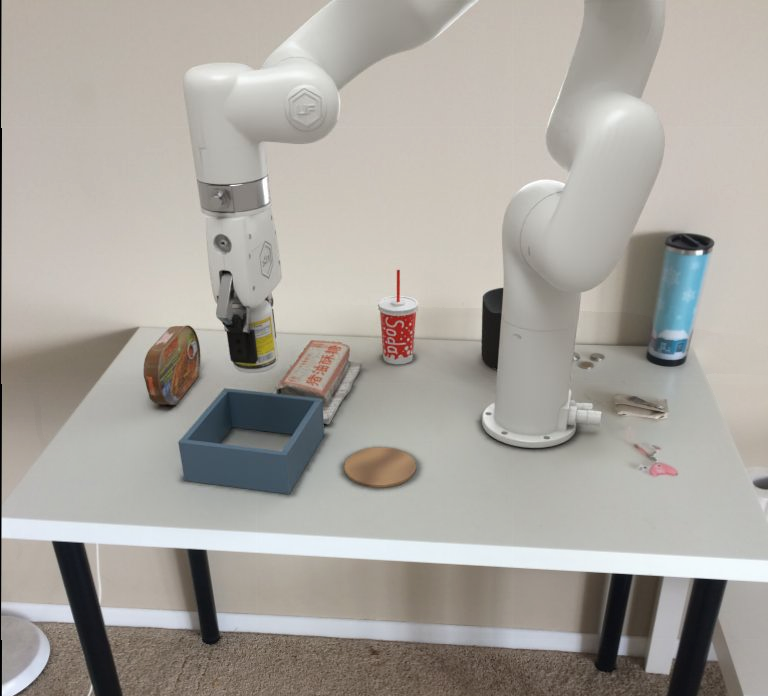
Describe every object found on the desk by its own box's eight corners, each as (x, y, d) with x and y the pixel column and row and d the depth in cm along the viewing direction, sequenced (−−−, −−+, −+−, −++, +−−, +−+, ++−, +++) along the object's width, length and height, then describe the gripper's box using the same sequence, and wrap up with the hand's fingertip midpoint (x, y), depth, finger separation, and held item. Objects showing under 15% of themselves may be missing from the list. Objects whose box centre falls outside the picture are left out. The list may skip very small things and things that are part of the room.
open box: (324, 435, 116) (322, 398, 113) (289, 494, 104) (286, 455, 101) (229, 424, 119) (224, 387, 115) (184, 480, 107) (177, 441, 104)
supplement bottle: (240, 354, 107) (230, 276, 101) (283, 356, 106) (275, 277, 100) (227, 373, 102) (215, 293, 97) (271, 375, 102) (262, 295, 96)
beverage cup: (370, 359, 135) (369, 271, 127) (394, 346, 139) (394, 260, 131) (402, 370, 132) (402, 280, 124) (425, 356, 136) (427, 268, 128)
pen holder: (535, 347, 138) (541, 286, 133) (544, 373, 131) (551, 310, 125) (476, 348, 139) (479, 287, 133) (481, 374, 131) (485, 310, 125)
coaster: (422, 454, 112) (422, 451, 112) (407, 491, 105) (407, 489, 104) (355, 446, 114) (354, 443, 113) (335, 482, 106) (335, 479, 106)
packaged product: (298, 334, 131) (362, 340, 129) (300, 363, 134) (362, 369, 132) (257, 387, 117) (328, 394, 115) (260, 418, 120) (330, 426, 118)
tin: (167, 415, 121) (158, 360, 116) (146, 414, 121) (136, 358, 116) (205, 369, 133) (197, 316, 128) (185, 367, 133) (177, 315, 128)
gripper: (237, 219, 85) (258, 386, 96) (293, 174, 99) (306, 324, 109) (167, 216, 87) (195, 380, 97) (231, 172, 100) (250, 320, 111)
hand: (254, 349), depth 103 cm, fingers closed on supplement bottle, 5 cm apart
